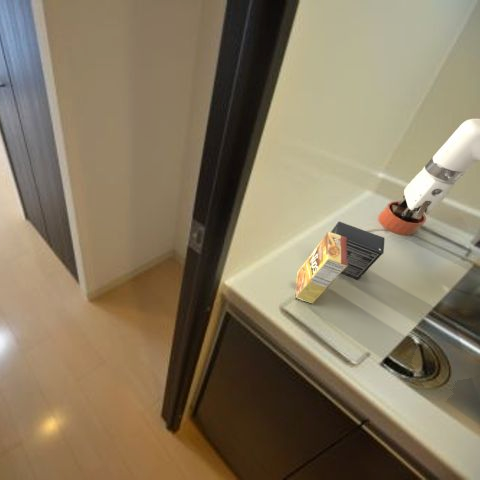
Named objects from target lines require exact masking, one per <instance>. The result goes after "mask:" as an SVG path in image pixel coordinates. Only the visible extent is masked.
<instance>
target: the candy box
mask: <svg viewBox="0 0 480 480" xmlns="http://www.w3.org/2000/svg"><path fill="white" fill-rule="evenodd" d="M347 266H348V261H347V238H346V237H344V236H341V235H338V234H334V233H331V231H327V233H326V234H325V235H324V236H323V238H322V239H321V241H320V242H319V243H318V244H317V246H316V247H315V248H314V250H313V251H312V252H311V253H310V255H309V256H308V258H307V259H306V260H305V261H304V262H303V264H302V266H301V267H300V268H299V269H298V271H297V272H296V280H295V291H296V297H298V298H301V299H303V300H305V301H308V302H311V303H312V304H314V302H315V301H316V300H317V299H318V298H319V297H320V296H321V295H322V294H323V293H324V292H325V290H327V289H328V288H329V286H330V285H331V284H332V283H333V282H334V281H335V280H336V279H337V278H338V277H339V276H340V275H341V274H342V271H343V270H344V269H345V268H346V267H347Z"/></svg>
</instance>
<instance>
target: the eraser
mask: <svg viewBox="0 0 480 480" xmlns="http://www.w3.org/2000/svg"><path fill="white" fill-rule="evenodd" d="M405 209H406V208H403V207H399V206H395V205H392V206H391V207H390V210H391V212H392V213H393V214H394V215H395V216H398V215H399V214H402V213H403V212H404V211H405ZM409 212H413V213H414V212H415V211H413V210H410V211H409ZM415 220H416V218H414V219H412V220H411V221H410V222H411V223H413V222H414V221H415Z"/></svg>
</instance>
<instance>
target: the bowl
mask: <svg viewBox="0 0 480 480" xmlns="http://www.w3.org/2000/svg"><path fill="white" fill-rule="evenodd" d="M399 202H400V200H396V201H395V200H393V201H390V202H389V203H388V204H387V205H386V206H385V207H384V208H383V209H382V211H380V213H379V215H378V217H377V219H378V222H379V223H380V224H381V226H383V228H385V229H387V230H388V231H389V232H391V233H394V234H397V235H401V236H411V235H413V234H415V232H417V231H418V230H419V229H420V228H421V227H422V226H423V225H424V224H425V223H426V222H427V218H426V217H427V216H426V214H425V213H423V215H422V217H421V219H416V220H415V221H414V222H413V223H411V222H407V221H404V220H402V219H400V218H398V217H397V216H395V215H394V214H393V213H392V212H391V210H390V207H391V206H392V205H395V206H397V205H399Z"/></svg>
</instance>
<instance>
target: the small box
mask: <svg viewBox="0 0 480 480" xmlns="http://www.w3.org/2000/svg"><path fill="white" fill-rule="evenodd" d="M330 232H331V233H334V234H338V235H341V236H344V237H346V238H347V261H348V266H347V267H346V268H345V269H344V270H343V271H342V273H341V274H342V275H345V276H348V277H350V278H352V279H355V280H360V279H361V277H362V276H364V274H365V273H366V272H367V271H368V270H369V269H370V268H371V267H372V266H373V265H374V264H375V262H376V261H377V260H378V259H379V258H380V257H381V256H383V254H384V251H385V241H386V240H385V237H384V236H381V235H378V234H375V233H372V232H369V231H367V230H364V229H361V228H358V227H356V226H353V225H350V224H347V223H345V222H342V221H337V223H336V224H335V226H334V227H333V229H332V230H331V231H330Z"/></svg>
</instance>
